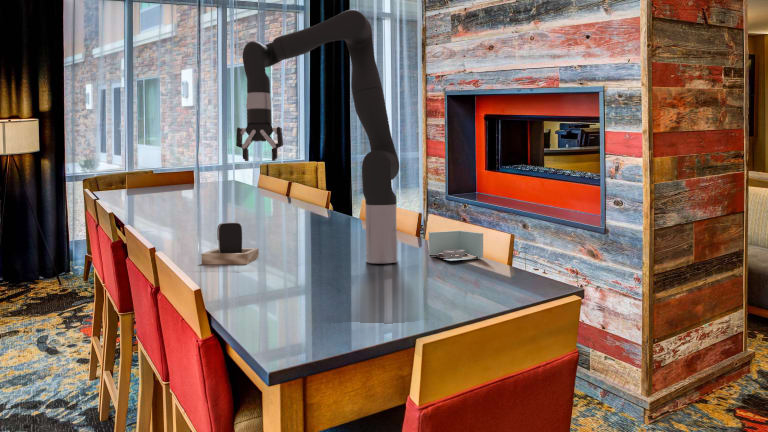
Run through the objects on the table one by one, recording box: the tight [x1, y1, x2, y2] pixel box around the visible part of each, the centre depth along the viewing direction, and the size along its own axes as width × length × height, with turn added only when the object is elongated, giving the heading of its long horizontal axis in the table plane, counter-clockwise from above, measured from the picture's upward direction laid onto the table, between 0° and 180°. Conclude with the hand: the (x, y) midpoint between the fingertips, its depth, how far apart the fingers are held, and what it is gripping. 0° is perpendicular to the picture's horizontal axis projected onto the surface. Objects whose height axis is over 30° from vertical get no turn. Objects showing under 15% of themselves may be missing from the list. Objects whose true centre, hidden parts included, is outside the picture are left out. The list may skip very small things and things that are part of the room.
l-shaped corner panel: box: [428, 230, 484, 262], centre depth 191 cm, size 12×12×8 cm
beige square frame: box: [200, 248, 260, 265], centre depth 185 cm, size 13×13×3 cm
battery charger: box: [216, 221, 243, 253], centre depth 185 cm, size 7×4×11 cm, turn 118°
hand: (260, 160), depth 193 cm, fingers open, 8 cm apart
